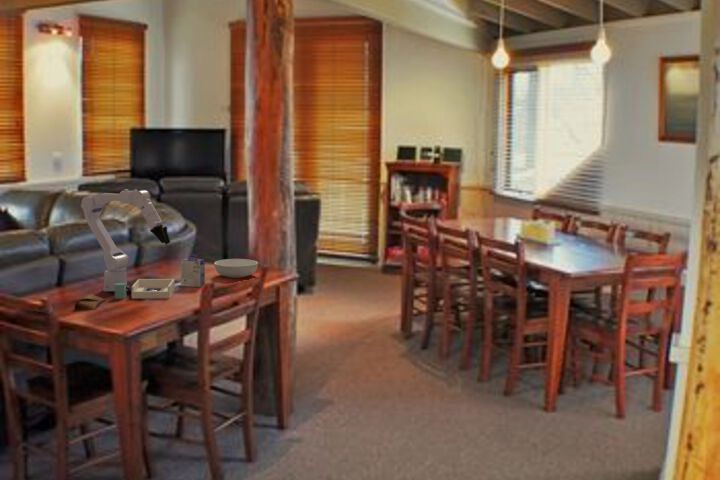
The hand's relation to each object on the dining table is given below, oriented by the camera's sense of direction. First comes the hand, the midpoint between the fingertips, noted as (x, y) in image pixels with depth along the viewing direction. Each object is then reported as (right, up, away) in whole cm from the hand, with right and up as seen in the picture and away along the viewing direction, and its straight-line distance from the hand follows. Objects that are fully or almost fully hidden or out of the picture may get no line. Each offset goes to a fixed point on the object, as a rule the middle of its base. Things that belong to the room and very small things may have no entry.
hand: (166, 242), depth 374 cm
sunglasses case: (-28, -26, -15) cm, 41 cm away
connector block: (-19, -24, -2) cm, 30 cm away
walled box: (-7, -22, +5) cm, 24 cm away
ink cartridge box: (+7, -20, +23) cm, 31 cm away
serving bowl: (+24, -17, +45) cm, 53 cm away
